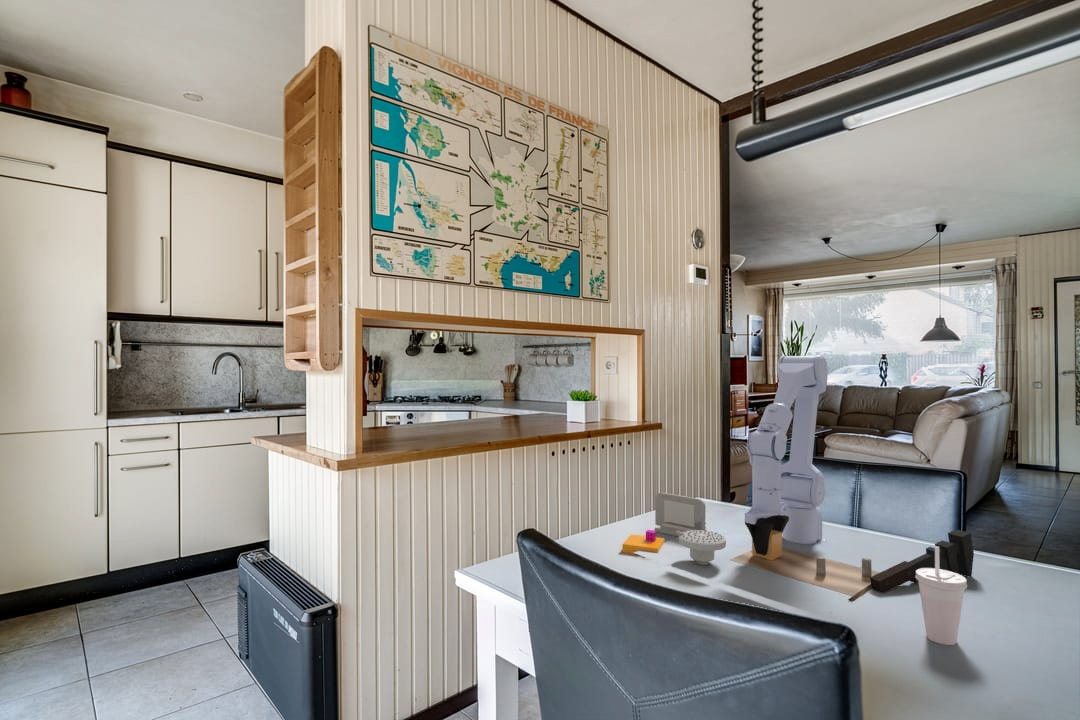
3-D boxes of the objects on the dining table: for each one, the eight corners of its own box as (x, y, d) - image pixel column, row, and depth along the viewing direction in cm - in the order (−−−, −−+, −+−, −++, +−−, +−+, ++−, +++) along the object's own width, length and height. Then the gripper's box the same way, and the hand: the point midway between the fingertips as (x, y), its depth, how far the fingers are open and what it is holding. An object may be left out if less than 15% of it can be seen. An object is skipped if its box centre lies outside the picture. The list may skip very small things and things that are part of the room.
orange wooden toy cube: (762, 550, 121) (762, 527, 121) (782, 555, 118) (782, 531, 118) (752, 554, 118) (752, 531, 118) (772, 560, 115) (771, 536, 115)
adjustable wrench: (874, 613, 104) (962, 568, 112) (887, 619, 101) (977, 573, 109) (866, 570, 103) (956, 529, 112) (880, 575, 101) (970, 533, 109)
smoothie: (905, 629, 87) (905, 540, 87) (943, 628, 88) (943, 539, 88) (938, 650, 81) (937, 554, 81) (979, 648, 81) (978, 553, 81)
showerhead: (674, 524, 120) (722, 526, 118) (675, 557, 120) (723, 560, 118) (676, 537, 111) (728, 540, 109) (676, 573, 111) (729, 577, 109)
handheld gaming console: (720, 534, 137) (719, 494, 137) (703, 543, 130) (703, 500, 130) (672, 524, 146) (672, 486, 146) (654, 532, 139) (654, 492, 139)
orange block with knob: (658, 558, 121) (658, 539, 121) (622, 554, 124) (622, 534, 124) (664, 547, 128) (664, 529, 128) (630, 543, 131) (630, 525, 131)
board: (767, 548, 126) (767, 529, 126) (885, 578, 108) (885, 557, 108) (729, 564, 116) (729, 544, 116) (852, 601, 97) (852, 577, 97)
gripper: (767, 496, 110) (768, 564, 110) (801, 485, 120) (801, 548, 120) (735, 490, 116) (735, 555, 116) (769, 480, 125) (770, 540, 125)
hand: (767, 551), depth 118 cm, fingers closed on orange wooden toy cube, 4 cm apart
